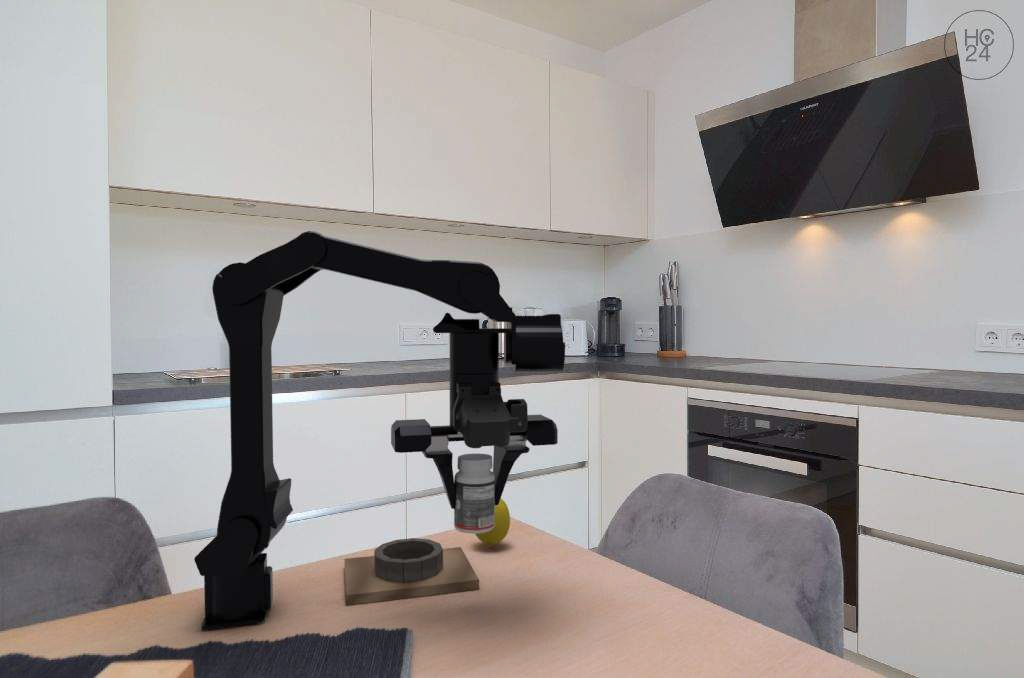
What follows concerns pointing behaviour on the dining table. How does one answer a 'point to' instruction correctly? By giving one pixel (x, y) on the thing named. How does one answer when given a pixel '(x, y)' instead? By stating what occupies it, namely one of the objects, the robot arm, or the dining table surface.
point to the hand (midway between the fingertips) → (474, 506)
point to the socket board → (408, 572)
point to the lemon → (497, 526)
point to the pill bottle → (474, 494)
